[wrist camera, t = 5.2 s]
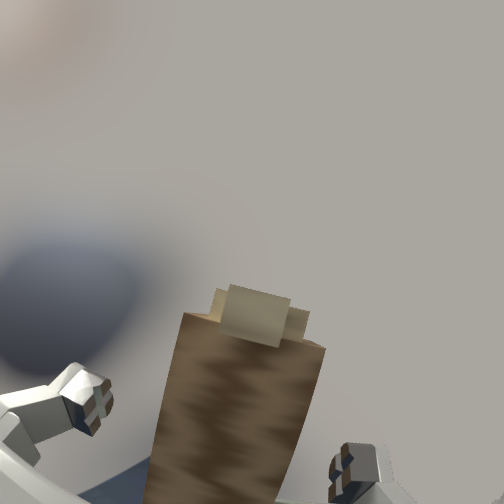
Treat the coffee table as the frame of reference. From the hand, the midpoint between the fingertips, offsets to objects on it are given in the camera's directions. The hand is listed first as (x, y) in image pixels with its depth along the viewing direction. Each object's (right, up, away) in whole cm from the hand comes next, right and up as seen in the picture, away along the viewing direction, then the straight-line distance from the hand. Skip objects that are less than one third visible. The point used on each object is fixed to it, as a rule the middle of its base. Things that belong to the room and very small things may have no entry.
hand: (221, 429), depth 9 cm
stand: (-5, -26, +12) cm, 29 cm away
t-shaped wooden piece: (+1, 0, +14) cm, 14 cm away
